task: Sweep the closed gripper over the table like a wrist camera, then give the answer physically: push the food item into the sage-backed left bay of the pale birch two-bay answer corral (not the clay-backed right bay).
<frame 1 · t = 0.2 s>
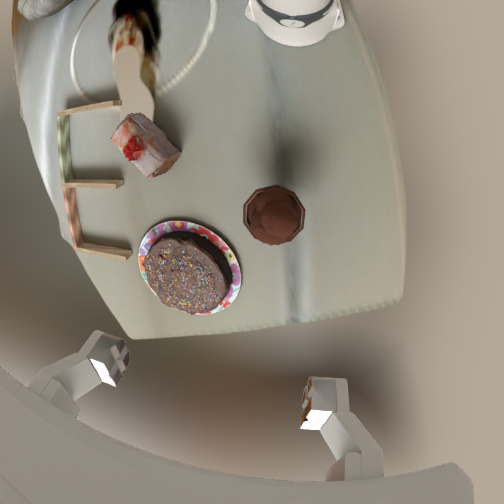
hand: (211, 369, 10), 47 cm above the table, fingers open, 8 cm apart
ice cream bowl: (277, 199, 55), on the table
chocolate cake: (188, 269, 68), on the table
answer corral: (94, 181, 58), on the table
food item: (155, 141, 52), on the table
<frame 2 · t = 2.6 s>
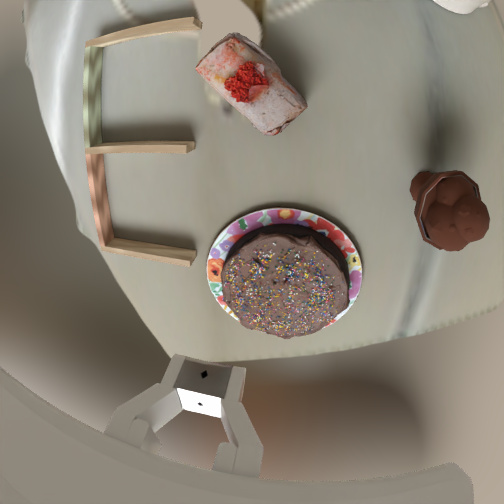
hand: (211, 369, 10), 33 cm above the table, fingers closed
ice cream bowl: (424, 187, 35), on the table
chocolate cake: (284, 277, 49), on the table
answer corral: (140, 144, 39), on the table
food item: (259, 86, 32), on the table
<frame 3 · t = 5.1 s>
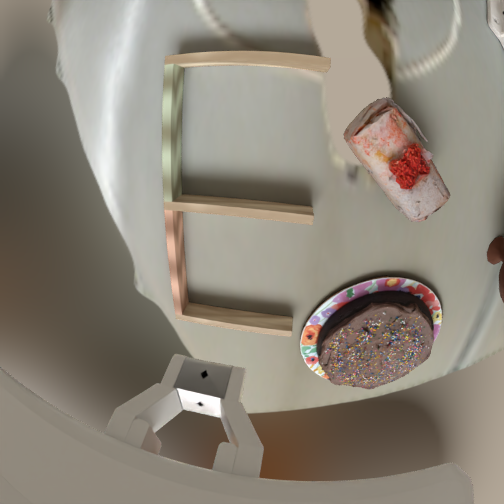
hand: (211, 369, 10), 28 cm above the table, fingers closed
ice cream bowl: (496, 249, 33), on the table
chocolate cake: (373, 335, 45), on the table
answer corral: (240, 203, 36), on the table
food item: (385, 153, 30), on the table
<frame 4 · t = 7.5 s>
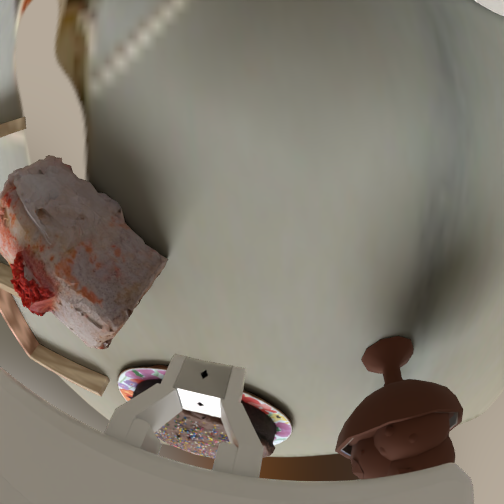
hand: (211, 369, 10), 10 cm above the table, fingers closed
ice cream bowl: (387, 352, 23), on the table
chocolate cake: (202, 411, 36), on the table
answer corral: (22, 274, 27), on the table
food item: (102, 222, 20), on the table
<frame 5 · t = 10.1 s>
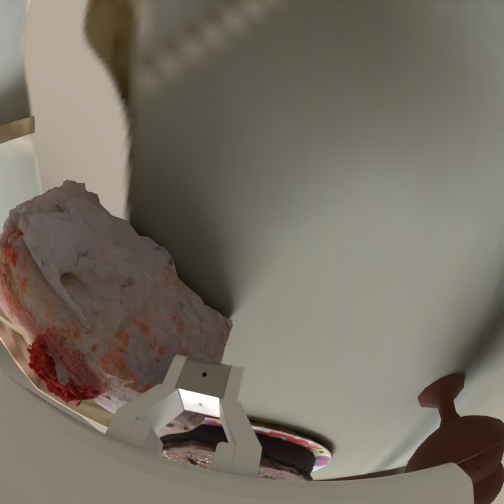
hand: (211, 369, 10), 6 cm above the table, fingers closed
ice cream bowl: (441, 388, 19), on the table
chocolate cake: (235, 447, 32), on the table
answer corral: (28, 307, 23), on the table
food item: (140, 270, 17), on the table, touching gripper
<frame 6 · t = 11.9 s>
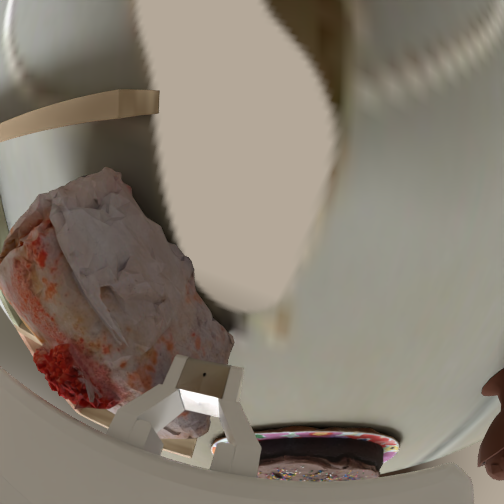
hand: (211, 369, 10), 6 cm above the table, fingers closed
ice cream bowl: (498, 378, 18), on the table
chocolate cake: (305, 454, 31), on the table
answer corral: (89, 333, 22), on the table
food item: (152, 270, 17), on the table, touching gripper
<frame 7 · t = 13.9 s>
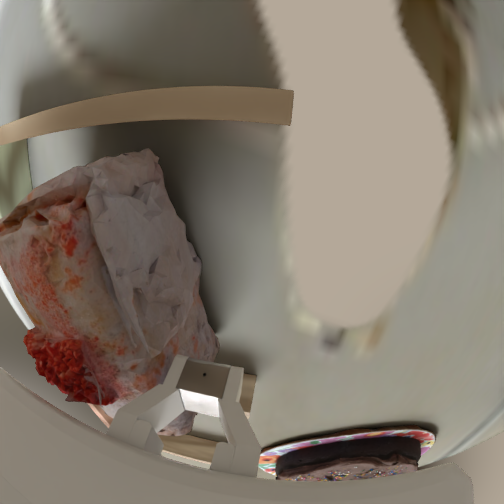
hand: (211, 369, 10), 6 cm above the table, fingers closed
chocolate cake: (346, 455, 30), on the table
answer corral: (146, 355, 21), on the table
food item: (155, 259, 16), on the table, touching gripper
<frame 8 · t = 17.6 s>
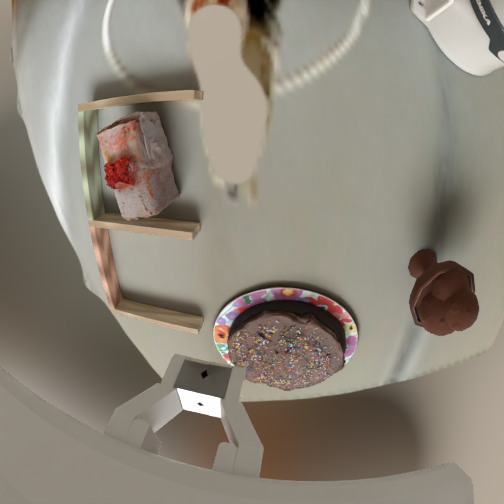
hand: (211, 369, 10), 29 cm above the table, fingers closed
ice cream bowl: (422, 263, 38), on the table
chocolate cake: (285, 340, 51), on the table
answer corral: (144, 219, 41), on the table
food item: (155, 158, 36), on the table
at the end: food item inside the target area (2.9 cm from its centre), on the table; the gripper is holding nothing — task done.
